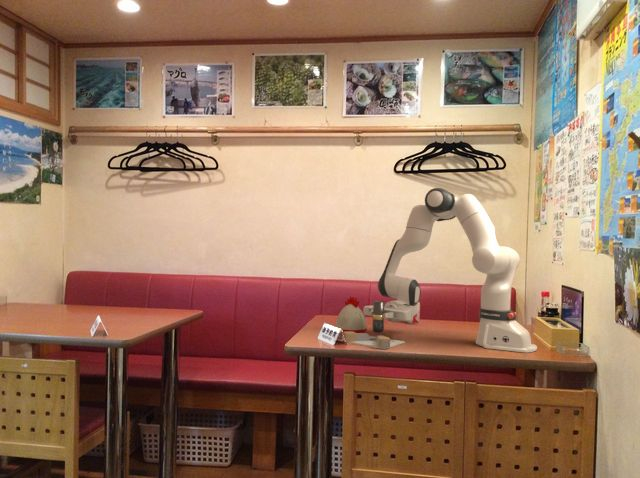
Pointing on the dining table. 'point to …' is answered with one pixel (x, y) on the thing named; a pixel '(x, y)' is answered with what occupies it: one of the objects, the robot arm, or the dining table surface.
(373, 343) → the grey plate with blocks
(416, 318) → the soda can
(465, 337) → the dining table surface
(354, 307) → the kitchen timer
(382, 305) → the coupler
